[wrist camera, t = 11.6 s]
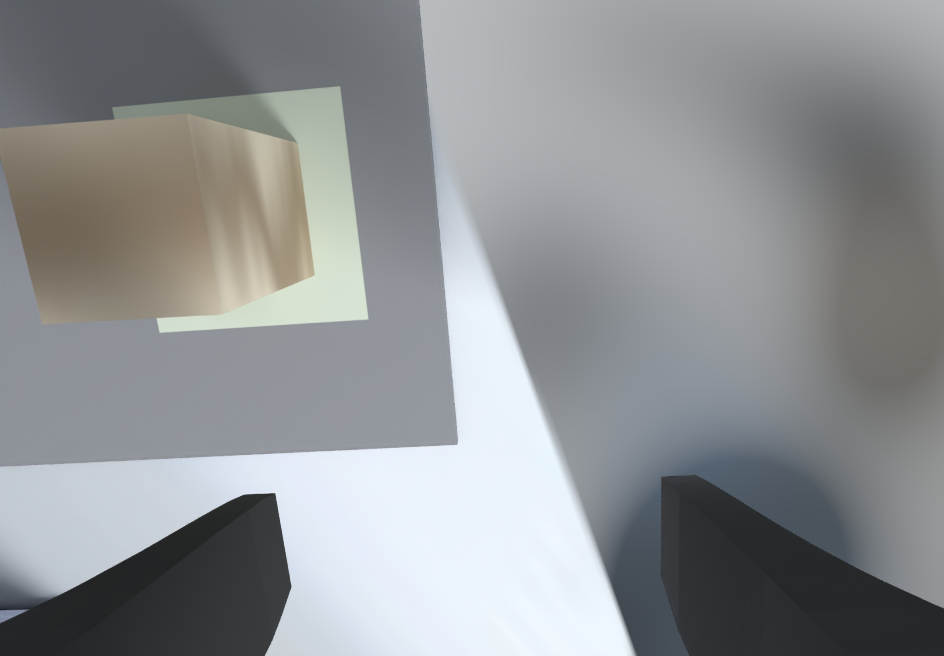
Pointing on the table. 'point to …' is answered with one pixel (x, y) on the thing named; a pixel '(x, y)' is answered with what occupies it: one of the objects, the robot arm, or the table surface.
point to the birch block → (155, 216)
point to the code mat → (278, 314)
